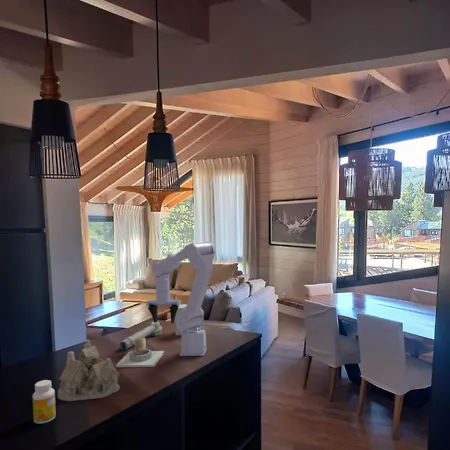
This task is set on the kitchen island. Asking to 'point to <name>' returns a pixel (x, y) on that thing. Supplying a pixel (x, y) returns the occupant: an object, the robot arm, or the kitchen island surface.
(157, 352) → the collar plate
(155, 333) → the white handheld device
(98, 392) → the ceramic cottage
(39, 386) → the supplement bottle
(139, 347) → the maple peg
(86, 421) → the kitchen island surface
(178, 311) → the supplement box
